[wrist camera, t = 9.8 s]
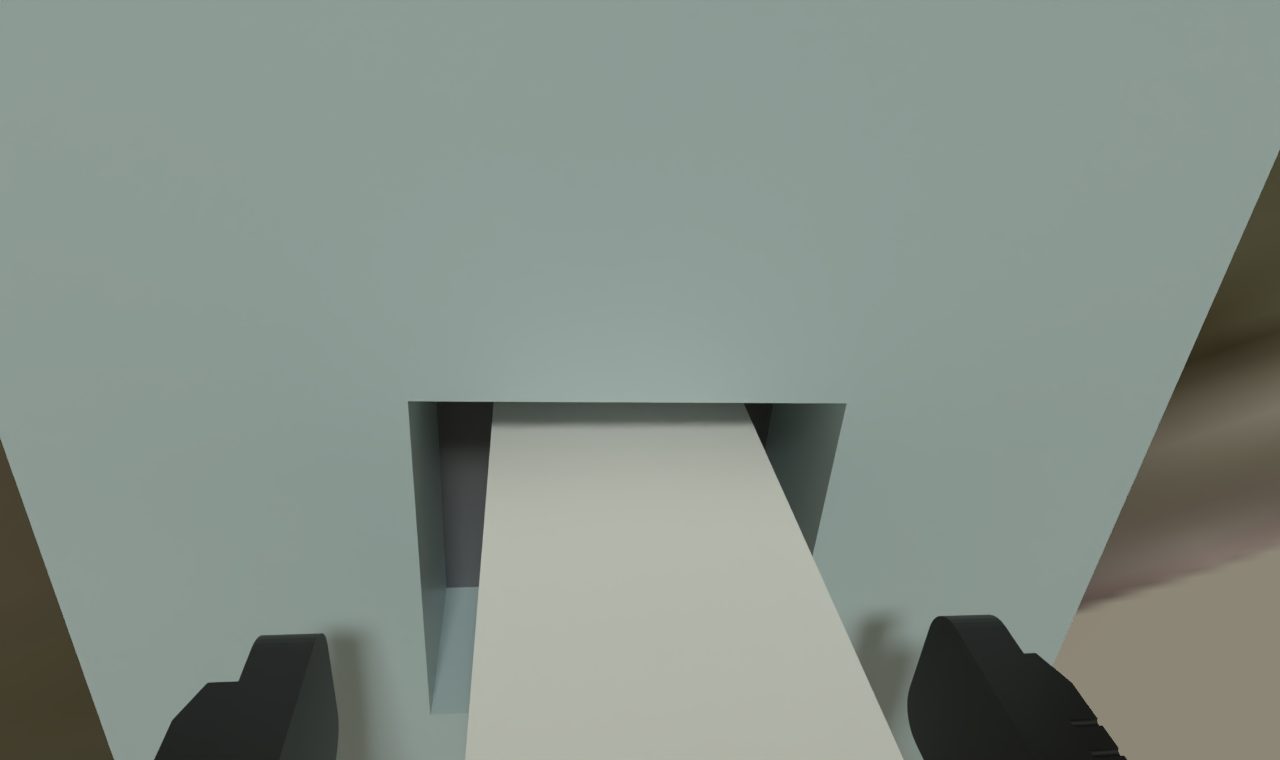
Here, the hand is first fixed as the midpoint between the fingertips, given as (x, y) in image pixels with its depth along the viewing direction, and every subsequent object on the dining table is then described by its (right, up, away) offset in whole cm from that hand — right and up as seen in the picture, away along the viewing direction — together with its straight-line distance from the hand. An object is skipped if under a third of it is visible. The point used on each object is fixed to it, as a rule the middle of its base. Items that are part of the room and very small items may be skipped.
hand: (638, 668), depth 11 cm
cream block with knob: (-1, +2, +4) cm, 5 cm away
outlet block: (-1, +3, +5) cm, 6 cm away
